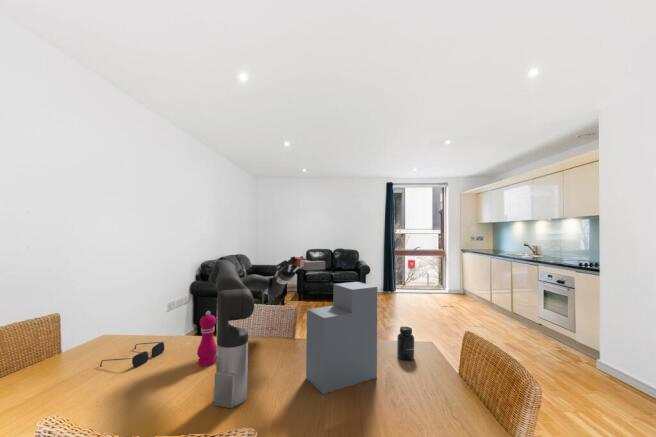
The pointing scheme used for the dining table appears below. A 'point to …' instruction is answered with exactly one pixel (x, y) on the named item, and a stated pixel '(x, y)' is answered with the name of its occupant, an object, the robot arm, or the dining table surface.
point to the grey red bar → (309, 264)
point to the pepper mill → (207, 341)
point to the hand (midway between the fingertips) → (298, 258)
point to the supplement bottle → (405, 344)
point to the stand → (343, 338)
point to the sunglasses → (144, 355)
